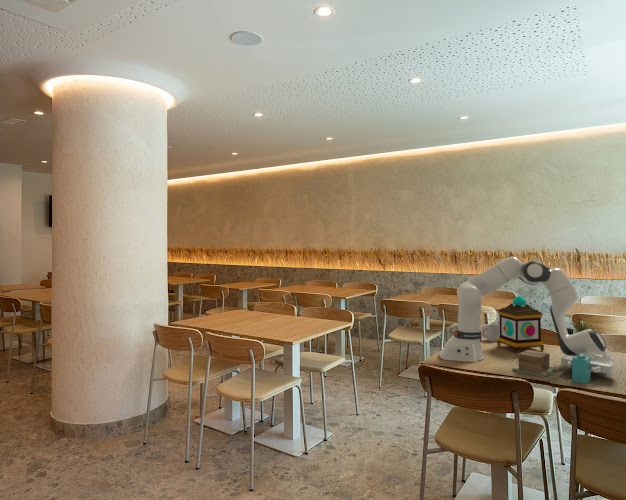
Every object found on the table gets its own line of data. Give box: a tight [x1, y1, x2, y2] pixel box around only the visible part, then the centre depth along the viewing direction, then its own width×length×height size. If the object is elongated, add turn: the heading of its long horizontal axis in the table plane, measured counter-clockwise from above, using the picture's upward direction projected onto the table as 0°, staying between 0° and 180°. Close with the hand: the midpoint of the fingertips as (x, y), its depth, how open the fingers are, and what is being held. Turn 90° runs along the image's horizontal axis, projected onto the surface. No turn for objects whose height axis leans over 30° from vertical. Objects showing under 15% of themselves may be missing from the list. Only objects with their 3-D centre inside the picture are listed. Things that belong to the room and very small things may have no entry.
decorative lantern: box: [496, 295, 545, 354], centre depth 250 cm, size 20×20×30 cm
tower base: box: [511, 349, 557, 378], centre depth 210 cm, size 14×14×8 cm
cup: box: [481, 324, 500, 343], centre depth 272 cm, size 7×10×9 cm
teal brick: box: [571, 354, 592, 384], centre depth 194 cm, size 6×6×11 cm
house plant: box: [571, 319, 599, 334], centre depth 247 cm, size 14×14×16 cm
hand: (581, 368), depth 194 cm, fingers open, 8 cm apart
